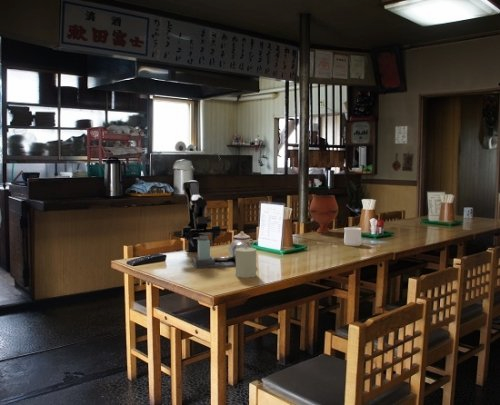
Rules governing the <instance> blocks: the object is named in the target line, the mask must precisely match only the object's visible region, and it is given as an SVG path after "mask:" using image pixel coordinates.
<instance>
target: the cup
mask: <svg viewBox="0 0 500 405" xmlns="http://www.w3.org/2000/svg"><path fill="white" fill-rule="evenodd" d="M343 231H344V234H343V235H344V237H343V243H344V245H345V246H348V247H349V246H350V247H359V246H361V244H362V228H361V227H356V226H355V227H353V226H351V227H350V226H348V227H344V228H343Z"/></svg>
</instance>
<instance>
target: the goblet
mask: <svg viewBox="0 0 500 405" xmlns="http://www.w3.org/2000/svg"><path fill="white" fill-rule="evenodd" d="M309 214H310V216H311V218H312V219H313V220H314V221H315V222H317V223H319V224H318V225H319V227H318V229H317V230H316V233H323V234H326V233H330V229H329V228H328V226H329V224H330V223H332V222H333V221H334V220H335V219H336V218H337V217H338V214H339V205H338V203H337V199H336V197H335V195H330V194H329V195H328V194H326V195H325V194H316V195H315V194H314V195H313V198H312V200H311V201H310V207H309Z"/></svg>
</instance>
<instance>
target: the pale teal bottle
mask: <svg viewBox="0 0 500 405" xmlns="http://www.w3.org/2000/svg"><path fill="white" fill-rule="evenodd" d="M210 256H211V240H210V239H209V235H208V234H202V235H200V239H198V252H197V259H198V260H210Z"/></svg>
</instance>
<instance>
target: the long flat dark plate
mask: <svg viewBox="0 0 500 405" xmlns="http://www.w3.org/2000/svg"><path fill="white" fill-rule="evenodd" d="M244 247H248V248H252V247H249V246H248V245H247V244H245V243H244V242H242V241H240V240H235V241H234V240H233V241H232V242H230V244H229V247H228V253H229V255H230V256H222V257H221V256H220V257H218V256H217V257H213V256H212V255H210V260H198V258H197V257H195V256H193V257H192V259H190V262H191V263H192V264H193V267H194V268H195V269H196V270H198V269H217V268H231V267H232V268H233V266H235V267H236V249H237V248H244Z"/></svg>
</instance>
